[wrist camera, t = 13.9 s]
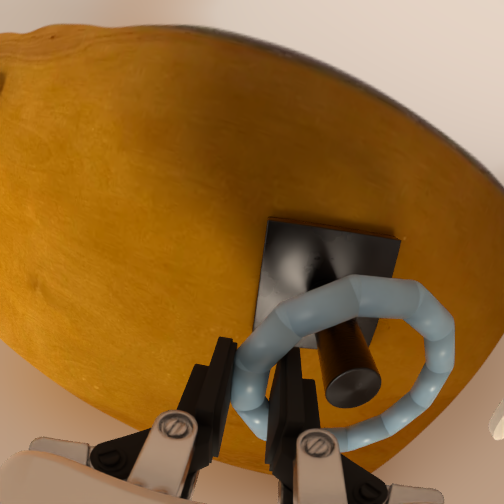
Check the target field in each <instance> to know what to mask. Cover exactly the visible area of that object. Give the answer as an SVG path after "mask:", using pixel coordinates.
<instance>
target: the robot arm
mask: <svg viewBox="0 0 504 504" xmlns="http://www.w3.org/2000/svg"><path fill="white" fill-rule="evenodd" d="M236 351H237V343H235V342H233V339H232V338H225V337H219V338H218V341H217V344H216V347H215V350H214V353H213V356H212V359H211V362H210V365H209V366H205V365H200V364H195V365H194V367H193V370H192V372H191V375H190V377H189V380H188V382H187V385H186V387H185V390H184V392H183V395H182V397H181V400H180V402H179V405H178V408H177V410H168V411H166V412H163V413H161V414H160V415H159V416H158V417H157V418H156V420H155V422H154V424H153V426H152V428H149V429H146V430H143V431H140V432H137V433H134V434H131V435H127V436H124V437H121V438H117V439H114V440H110V441H107V442H103V443H101V444H98V445H97V446H89V444H88V443H80V442H73V441H66V440H60V439H53V438H48V437H39V438H36V439H34V440H33V441H32V442H31V444H30V447H29V450H27V451H20V452H18V453H15V454H14V455H12V456H11V457H10V458H9V459H7V461H6V462H5V463H4V464H3V465H2V466H1V467H0V504H205V503H200V502H195V501H191V499H192V496H193V492H194V489H195V485H196V482H197V478H198V474H199V470H200V469H202V468H204V467H206V466H208V465H209V463H211V462H212V458H213V456H214V457H218V455H219V451H220V446H221V442H222V437H223V432H224V428H225V423H226V418H227V413H228V409H229V404H230V399H231V387H232V376H233V366H234V357H235V352H236ZM265 464H270V469H269V471H273V472H272V474H273V475H274V476H275V477H276V478H278V479H279V482H278V504H444V497H443V495H442V493H441V492H439V491H438V490H436V489H431V488H421V487H412V486H404V485H398V484H392V485H390V486H389V485H385V483H384V482H383V481H382V480H380V479H379V478H377V477H376V476H374V475H373V474H371V473H369V472H368V471H366V470H365V469H363V468H362V467H360V466H359V465H357V464H355V463H354V462H352V461H351V460H350V459H348V458H347V457H345V456H344V455H342V454H341V453H340V448H339V443H338V440H337V438H336V437H335V436H334V435H333V434H332V433H330V432H329V431H326V430H324V429H320V419H319V410H318V402H317V394H316V386H315V381H314V380H313V379H302V370H301V358H300V348H299V347H293V348H292V349H291V350H290V351H289V352H288V353H287V354H286V355H285V356H283V357H282V358H281V359H280V360H279V361H278V362H277V365H276V370H275V374H274V379H273V383H272V388H271V392H270V398H269V410H268V425H267V439H266V453H265Z"/></svg>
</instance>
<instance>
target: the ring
mask: <svg viewBox="0 0 504 504" xmlns="http://www.w3.org/2000/svg"><path fill="white" fill-rule="evenodd" d="M355 317H372V318H394V319H403V320H405V321H406V322H407V323H408V324H409V325H411V326H412V327H413V328H414V329H415V330H416V331H418V332H419V333H420V334H421V335H422V336H424V344H425V357H426V362H425V364H424V366H423V368H422V370H421V372H420V374H419V376H418V378H417V380H416V382H415V383H414V385H413V387H412V389H411V390H410V391H409V392H408V393H407V394H406V395H404V396H403V397H402V398H401V399H400V400H398V401H397V402H396V403H395V404H394V405H392V406H391V407H390V408H389V409H387V410H386V411H385V412H383V413H382V414H380V415H378V416H375V417H373V418H370V419H367V420H365V421H362V422H359V423H356V424H353V425H351V426H348V427H345V428H320V429H324V430H326V431H329V432H330V433H332V434H333V435H334V436H335V437H336V438H337V440H338V443H339V448H340V452H347V451H351V450H354V449H357V448H360V447H363V446H366V445H369V444H371V443H374V442H377V441H380V440H382V439H385V438H387V437H390V436H392V435H394V434H395V433H396V432H398V431H399V430H400V429H402V428H403V427H405V426H406V425H407V424H409V423H410V422H411V421H412V420H414V419H415V418H416V417H417V416H419V415H420V414H421V413H422V412H424V411H425V410H426V409H427V408H428V407H429V406H430V405H431V404H432V402H433V401H434V399H435V398H436V396H437V394H438V393H439V391H440V389H441V388H442V386H443V384H444V383H445V381H446V379H447V378H448V376H449V374H450V372H451V370H452V369H453V366H454V355H455V327H454V320H453V317H452V315H451V314H450V313H449V312H448V311H447V310H446V309H445V308H444V307H443V306H442V304H441V303H440V302H439V301H438V300H437V299H436V298H435V297H434V296H433V295H432V294H431V293H430V292H429V291H428V290H427V289H426V288H425V287H424V286H423V285H422V284H421V283H419V282H417V281H414V280H406V279H396V278H386V277H376V276H366V275H356V274H354V275H348V276H345V277H343V278H341V279H338V280H336V281H333V282H331V283H328V284H326V285H323V286H321V287H318V288H316V289H313V290H311V291H308V292H306V293H303V294H301V295H298V296H295V297H293V298H290V299H287V300H285V301H283V302H281V303H279V304H278V305H277V306H276V307H275V308H274V309H273V311H272V312H271V313H270V314H269V315H268V316H267V317H266V318H265V320H264V321H263V322H262V323H261V324H260V325H259V326H258V327H257V328H256V329H255V331H254V332H253V333H252V334H251V335H250V336H249V337H248V338H247V339H246V340H245V341H244V343H243V344H242V345H241V346H240V347H239V348H238V349H237V351H236V352H235V357H234V366H233V376H232V387H231V404H232V406H233V408H234V409H235V410H236V411H237V413H238V414H239V415H240V416H241V418H242V419H243V420H244V421H245V423H246V424H247V425H248V426H249V428H250V429H251V430H252V431H253V432H254V434H255V435H256V436H257V437H258V438H260V439H262V440H265V441H266V439H267V425H268V410H269V401H268V399H267V398H266V396H265V393H266V388H267V383H268V378H269V373H270V369H271V368H272V367H273V366H274V365H275V364H276V363H277V362H278V361H279V360H280V359H281V358H282V357H283V356H285V355H286V354H287V353H288V352H289V351H290V350H291V349H292V348H293V347H294V346H295V345H296V344H297V343H298V342H299V341H300V340H301V339H302V338H303V337H305V336H308V335H311V334H314V333H316V332H319V331H322V330H324V329H327V328H330V327H332V326H335V325H337V324H340V323H342V322H345V321H347V320H350V319H352V318H355Z"/></svg>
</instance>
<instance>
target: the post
mask: <svg viewBox="0 0 504 504" xmlns="http://www.w3.org/2000/svg"><path fill="white" fill-rule="evenodd" d="M400 243H401V240H399V239H398V238H396V237H395V236H391V235H385V234H380V233H374V232H368V231H362V230H356V229H349V228H343V227H337V226H330V225H324V224H317V223H310V222H304V221H297V220H289V219H282V218H275V217H268V220H267V228H266V236H265V243H264V251H263V258H262V266H261V273H260V281H259V288H258V296H257V303H256V310H255V317H254V325H253V332H254V331H255V329H256V328H257V327H258V326H259V325H260V324H261V323H262V322H263V321H264V320H265V318H266V317H267V316H268V315H269V314H270V313H271V312H272V311H273V309H274V308H275V307H276V306H277V305H278V304H279V303H281V302H283V301H285V300H287V299H290V298H293V297H295V296H298V295H301V294H303V293H306V292H308V291H311V290H313V289H316V288H318V287H321V286H323V285H326V284H328V283H331V282H333V281H336V280H338V279H341V278H343V277H345V276H348V275H354V274H356V275H366V276H376V277H386V278H392V275H393V271H394V267H395V264H396V260H397V256H398V252H399V248H400ZM378 320H379V318H372V317H355V318H352V319H350V320H347V321H345V322H342V323H340V324H337V325H335V326H332V327H330V328H327V329H324V330H322V331H319V332H316V333H314V334H311V335H308V336H305V337H303V338H302V339H301V340H300V341H299V342H298V343H297V344H296V345H295V346H294V347H299V348H310V349H318V355H319V360H320V366H321V372H322V378H323V384H324V390H325V396H326V399H327V401H328V402H329V403H330V404H332V405H333V406H335V407H339V408H353V407H357V406H360V405H362V404H364V403H366V402H368V401H369V400H371V399H372V398H373V397H374V396H375V395H376V394H377V393H378V391H379V389H380V386H381V377H380V374H379V372H378V369H377V367H376V365H375V362H374V360H373V357H372V355H371V353H370V350H369V345H370V342H371V340H372V337H373V334H374V331H375V329H376V326H377V323H378ZM253 332H252V333H253Z"/></svg>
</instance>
